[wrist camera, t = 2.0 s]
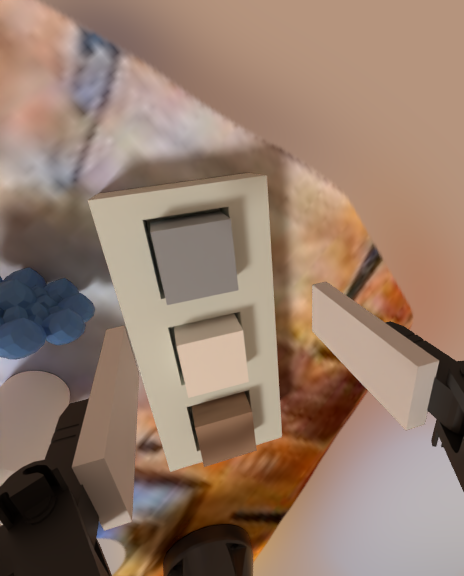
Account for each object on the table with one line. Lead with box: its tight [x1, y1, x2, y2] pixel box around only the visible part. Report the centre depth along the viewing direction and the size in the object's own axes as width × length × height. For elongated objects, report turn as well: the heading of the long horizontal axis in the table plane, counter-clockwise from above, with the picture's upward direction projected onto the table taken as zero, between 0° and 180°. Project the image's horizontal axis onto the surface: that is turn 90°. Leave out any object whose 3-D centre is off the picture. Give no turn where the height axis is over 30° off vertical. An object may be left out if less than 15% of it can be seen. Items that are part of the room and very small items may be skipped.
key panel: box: [88, 173, 282, 472], centre depth 32 cm, size 31×14×5 cm, turn 7°
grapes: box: [0, 267, 95, 359], centre depth 23 cm, size 12×7×12 cm, turn 67°
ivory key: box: [174, 313, 249, 398], centre depth 29 cm, size 6×6×4 cm
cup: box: [0, 371, 70, 526], centre depth 27 cm, size 9×9×12 cm
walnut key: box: [192, 392, 256, 467], centre depth 34 cm, size 6×6×4 cm
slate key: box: [150, 211, 239, 305], centre depth 25 cm, size 6×6×4 cm
